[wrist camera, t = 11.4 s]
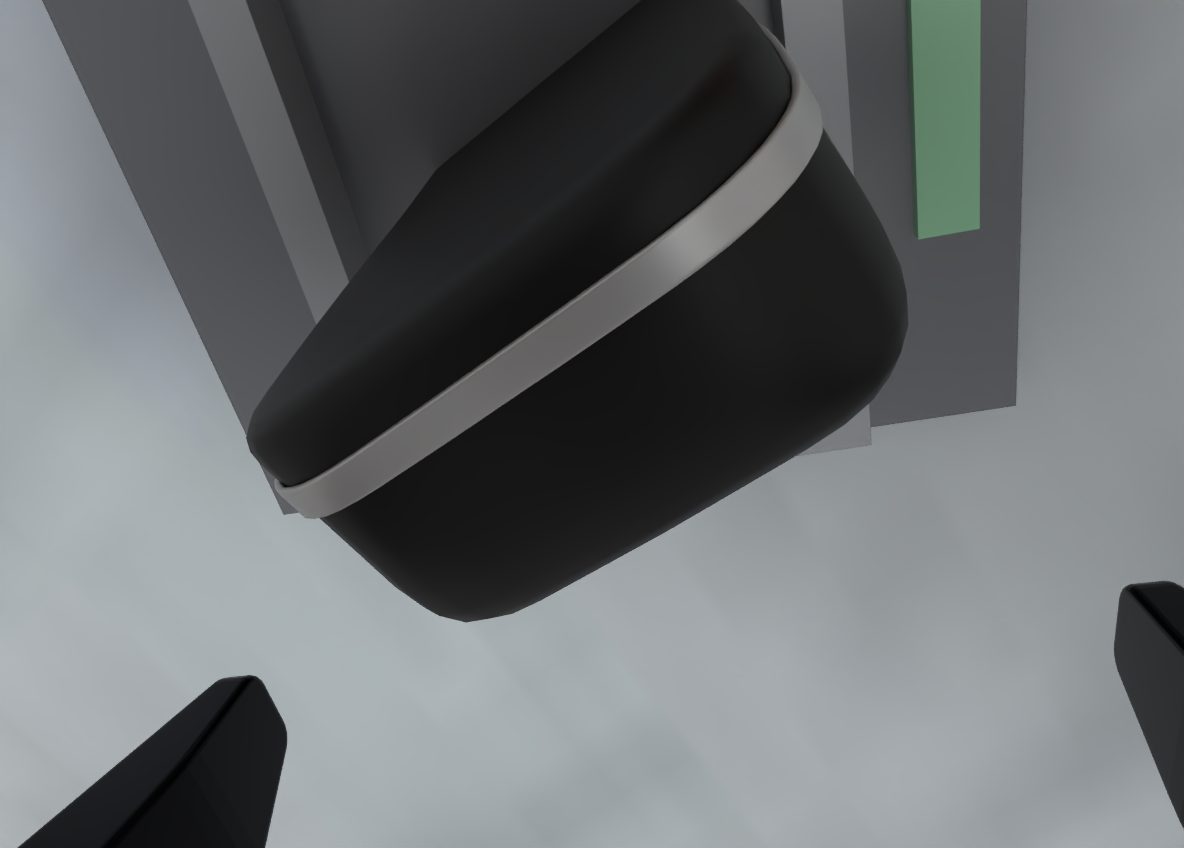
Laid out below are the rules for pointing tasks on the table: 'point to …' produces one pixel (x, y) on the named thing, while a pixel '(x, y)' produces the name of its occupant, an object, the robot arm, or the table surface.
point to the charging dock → (485, 92)
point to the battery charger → (592, 321)
